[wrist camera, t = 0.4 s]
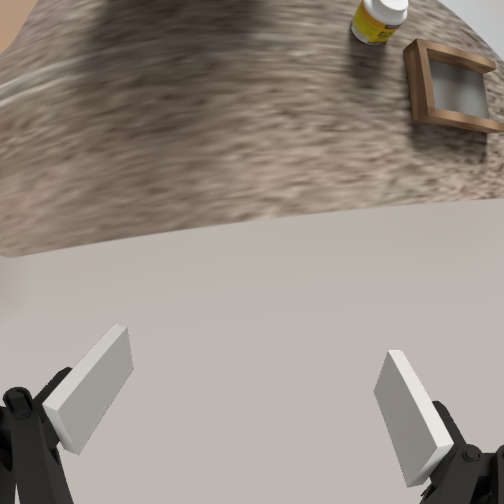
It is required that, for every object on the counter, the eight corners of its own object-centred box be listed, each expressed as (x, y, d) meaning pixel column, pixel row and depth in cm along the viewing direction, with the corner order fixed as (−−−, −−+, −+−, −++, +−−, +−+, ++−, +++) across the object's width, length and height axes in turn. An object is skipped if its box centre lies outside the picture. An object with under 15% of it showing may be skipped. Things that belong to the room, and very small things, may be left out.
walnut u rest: (478, 68, 30) (494, 61, 25) (487, 133, 33) (505, 131, 28) (403, 49, 31) (416, 38, 27) (412, 120, 34) (428, 115, 29)
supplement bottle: (369, 53, 32) (394, 22, 22) (341, 24, 31) (358, -12, 21) (394, 37, 31) (423, 7, 21) (368, 9, 30) (389, -26, 20)
